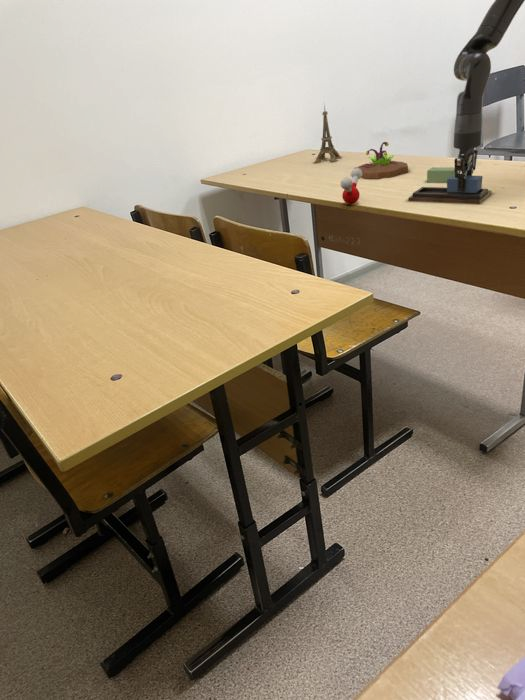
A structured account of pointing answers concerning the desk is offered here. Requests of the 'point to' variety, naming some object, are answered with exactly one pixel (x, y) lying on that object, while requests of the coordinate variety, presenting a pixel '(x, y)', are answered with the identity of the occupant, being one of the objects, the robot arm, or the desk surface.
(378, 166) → the plant
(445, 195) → the dark wooden tray
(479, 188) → the blue rectangular block
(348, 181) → the molecular model
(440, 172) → the green rectangular block
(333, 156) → the eiffel tower
